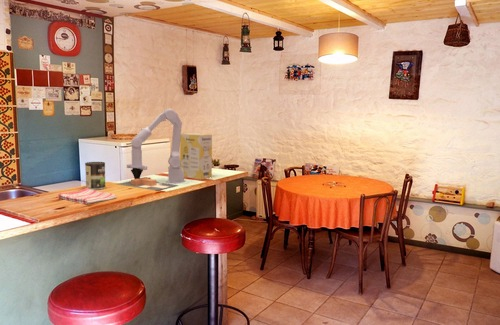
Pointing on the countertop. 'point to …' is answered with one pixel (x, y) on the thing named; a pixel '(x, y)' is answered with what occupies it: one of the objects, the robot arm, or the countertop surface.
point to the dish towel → (87, 196)
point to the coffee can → (95, 175)
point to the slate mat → (156, 187)
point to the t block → (143, 181)
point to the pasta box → (196, 155)
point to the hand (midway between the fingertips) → (137, 181)
